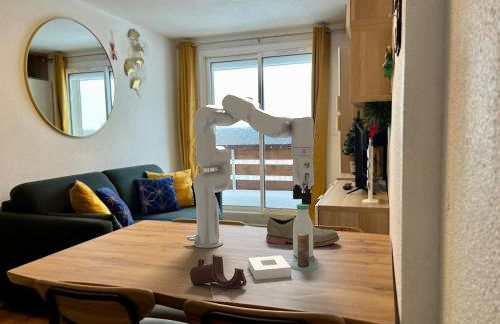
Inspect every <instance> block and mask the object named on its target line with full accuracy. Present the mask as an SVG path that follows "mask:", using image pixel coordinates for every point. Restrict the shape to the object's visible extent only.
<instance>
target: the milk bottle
mask: <svg viewBox="0 0 500 324" xmlns="http://www.w3.org/2000/svg"><path fill="white" fill-rule="evenodd" d="M309 208H310V205H302V203H298V204H296V211H297V214H296V215H295V216H296V218H295V221H294V224H293V243H292V247H293V248H292V249H293V250H292V252H293V256H295V257H296V258H298V245H297V234H299V233H306V234H309V258H310V257H313V256H314V247H313V227H314V226H313V221H312V219H311V216H310V213H309V211H310V209H309Z"/></svg>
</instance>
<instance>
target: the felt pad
mask: <svg viewBox="0 0 500 324" xmlns="http://www.w3.org/2000/svg"><path fill="white" fill-rule="evenodd" d="M289 265H290V267H291V270H295V271H298V272H311V271H315V270H317V269H319V265H318V263H316V262H315V261H310V260H309V267H305V268H303V267H299V266H298V260H296V261H291V262H290V263H289Z"/></svg>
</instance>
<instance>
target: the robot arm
mask: <svg viewBox="0 0 500 324" xmlns="http://www.w3.org/2000/svg"><path fill="white" fill-rule="evenodd" d="M221 100H222V101H221V105H214V104H208V105H207V104H206V105H202V106H200V107H198V109H197V110H196V111H195V114H194V115H193V128H194V132H195V133H194V134H195V159H196V164H197V166H198V168H200V169H213V170H209V171H208V170H207V171H203V172H199V173H197V174H196V175H195V176H194V179H193V181H192V186H193V190H194V194H195V195H194V196H195V207H196V208H195V209H196V233H195V234H194V235H186V241H189V242H193V245H194V247H196V248H200V249H212V248H218V247H221V245H223V243H224V240H223V239H222V238H220V220H219V219H220V217H219V216H220V215H219V214H220V212H219V202H218V198H217V196H216V194H215V193H220V192H225V191H227V190H228V189H229V188H230V184H231V177H232V176H231V156H230V153H229V151H228V149H227V148H226V147H225V146H220V145H217V141H216V139H217V137H216V133H215V131H214V130H213V128H212V127H230V126H233V125H235V124H236V123H239V122H241V121H243V122H245V123H246V124H248V125H249V126H250V128H251V129H253V130H254V131H256V132H258V133H260V134H262V135H263V136H266V137H269V138H271V139H281V138H282V139H284V138H285V139H287V138H289V139H290V138H291V139H290V140H291V141H290V142H291V145H290V146H291V147H290V152H291V153H290V157H291V158H292V171H291V173H292V174H291V175H292V178H291V179H292V200H301V204H302V205H309V206H310V205H311V204H312V192H313V190H312V189H313V186H314V185H315V174H314V173H315V172H314V159H313V157H314V126H315V125H314V124H315V123H314V121H315V120H314V119H313V117H311V116H305V115H301V116H294V117H291V116H283V115H281V116H280V115H273V114H271V113H268V112H266V111H265V110H263V107H262V104H261V103H259V102H257V101H255V100H254V99H253V97H251V96H250V95H247V94H243V93H242V94H241V93H234V92H232V93H228V94H226V95H225V96H224V97H223V99H221Z"/></svg>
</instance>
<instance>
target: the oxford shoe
mask: <svg viewBox="0 0 500 324" xmlns="http://www.w3.org/2000/svg"><path fill="white" fill-rule="evenodd" d="M296 216H297V215H293V216H292V217H291V218H288V219H278V218H276V217H272V216H269V217H268V220H267V224H266V231H267V232H266V237H265V241H266V242H268V243H270V244H275V245H281V246H285V245H286V244H287V243H291V244H293V224H294V221H295V218H296ZM339 240H340V235H338V232H337V230H334V229H323V228H317V227H315V226H313V248H316V247H323V246H327V245H331V244H334V243H337V242H338V241H339Z"/></svg>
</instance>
